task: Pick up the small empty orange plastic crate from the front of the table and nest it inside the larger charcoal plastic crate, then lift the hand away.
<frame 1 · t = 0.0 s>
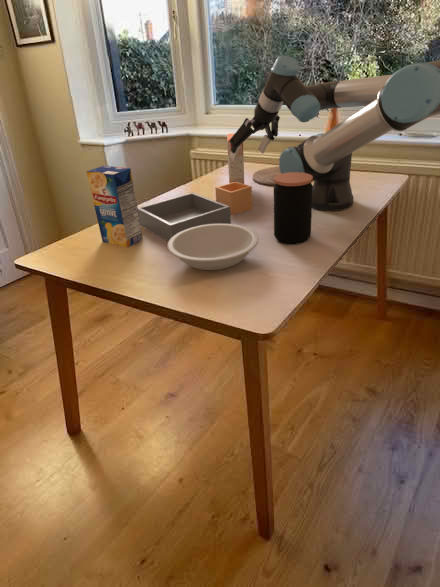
hand: (246, 154, 157), 15 cm above the table, tool tilted 35°, fingers open, 13 cm apart
trivet: (282, 179, 182), on the table
orange crate: (234, 209, 153), on the table
soup bowl: (214, 263, 117), on the table
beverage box: (122, 241, 135), on the table
coffee jar: (292, 238, 127), on the table
cracker box: (237, 192, 170), on the table
charcoal crate: (184, 224, 143), on the table
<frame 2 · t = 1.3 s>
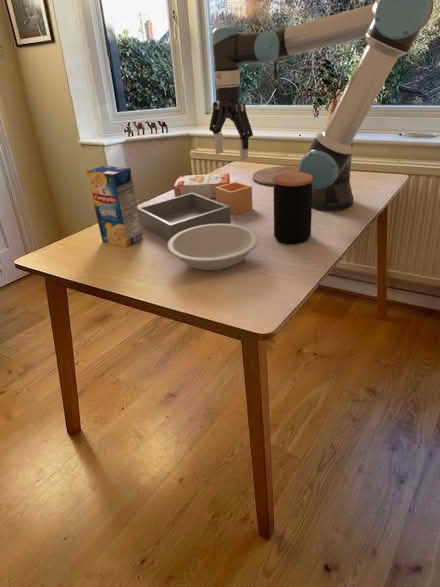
hand: (231, 156, 144), 18 cm above the table, tool pointing down, fingers open, 13 cm apart
cracker box: (229, 184, 168), point 3 cm above the table
everything else where it was.
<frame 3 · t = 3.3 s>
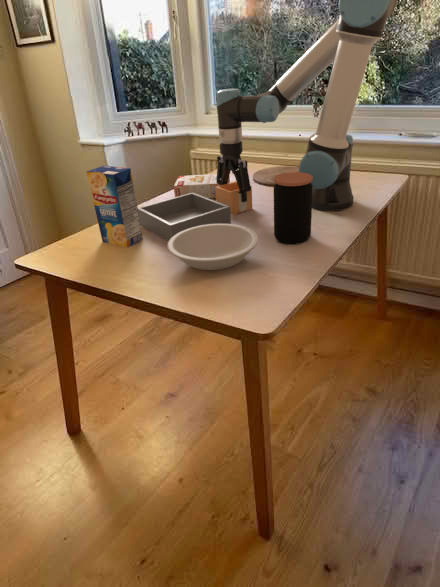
hand: (234, 207, 152), 1 cm above the table, tool pointing down, fingers closed on orange crate, 9 cm apart
orange crate: (234, 208, 153), on the table, touching gripper
everything else where it was.
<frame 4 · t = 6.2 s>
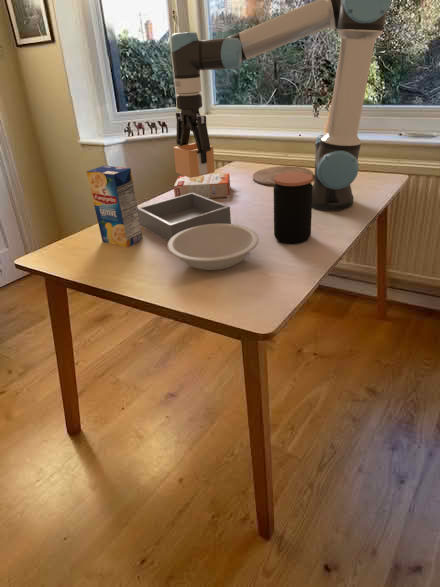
hand: (194, 170, 138), 16 cm above the table, tool pointing down, fingers closed on orange crate, 9 cm apart
orange crate: (195, 172, 138), point 16 cm above the table, touching gripper
everything else where it was.
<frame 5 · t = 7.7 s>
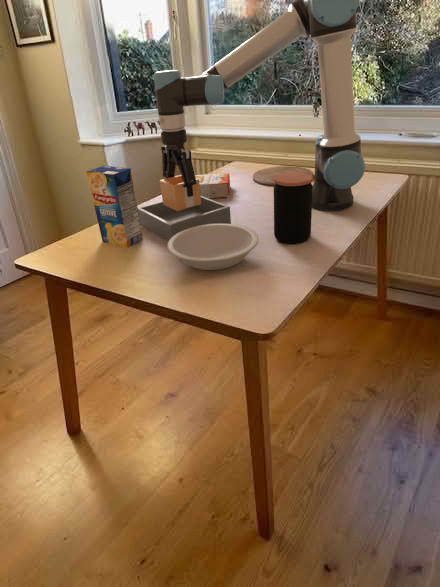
hand: (181, 202, 139), 8 cm above the table, tool pointing down, fingers closed on orange crate, 9 cm apart
orange crate: (182, 204, 139), point 7 cm above the table, touching gripper
everything else where it was.
when the fingers open (3 cm above the table, at t = 9.2 s): orange crate drops 1 cm, resting on charcoal crate.
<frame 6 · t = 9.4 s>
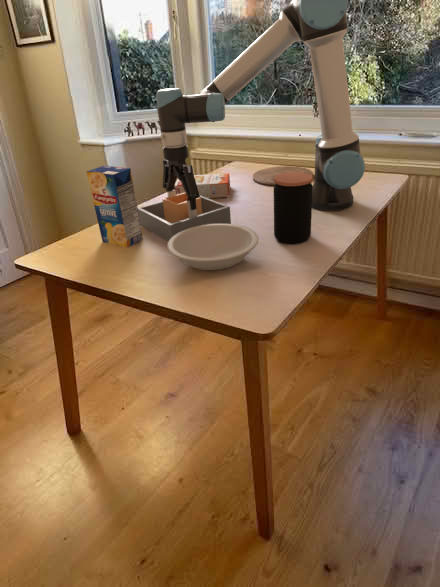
hand: (183, 214, 141), 4 cm above the table, tool pointing down, fingers open, 11 cm apart
orange crate: (184, 221, 142), point 1 cm above the table, touching charcoal crate
everything else where it was.
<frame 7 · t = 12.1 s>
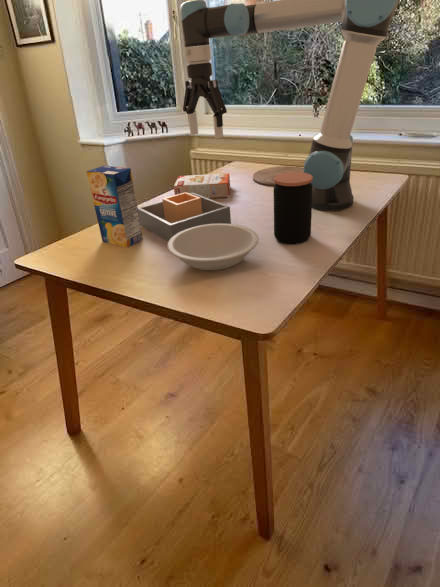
hand: (206, 136, 141), 25 cm above the table, tool pointing down, fingers open, 13 cm apart
nothing on the table moved.
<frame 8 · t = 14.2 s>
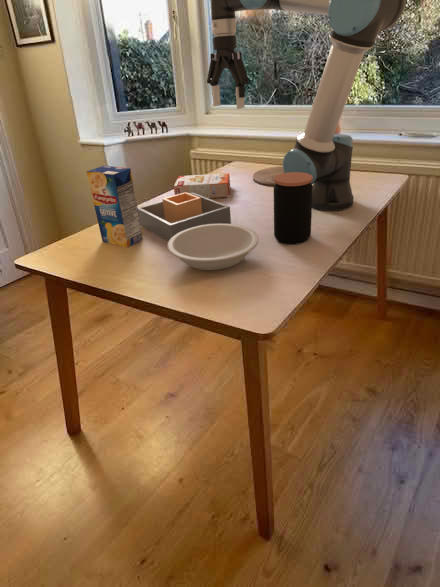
hand: (228, 107, 148), 32 cm above the table, tool pointing down, fingers open, 13 cm apart
nothing on the table moved.
at the end: orange crate inside the target area on the charcoal crate (0.1 cm from its centre), point 1.0 cm above the charcoal crate's base; orange crate tilted 0°; the gripper is holding nothing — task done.
